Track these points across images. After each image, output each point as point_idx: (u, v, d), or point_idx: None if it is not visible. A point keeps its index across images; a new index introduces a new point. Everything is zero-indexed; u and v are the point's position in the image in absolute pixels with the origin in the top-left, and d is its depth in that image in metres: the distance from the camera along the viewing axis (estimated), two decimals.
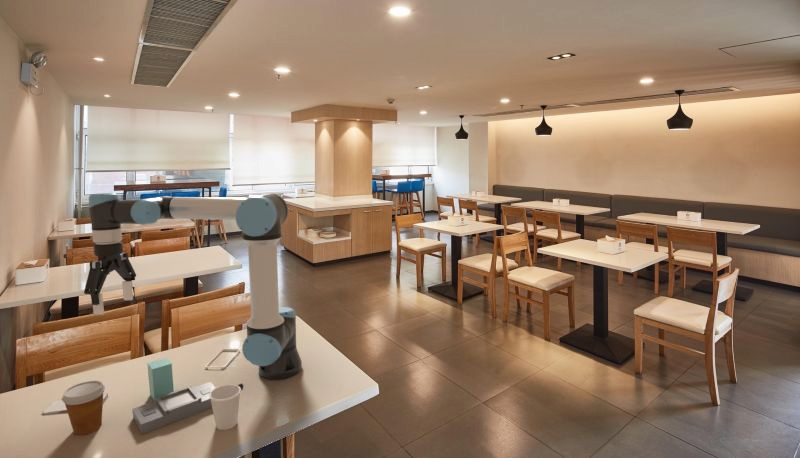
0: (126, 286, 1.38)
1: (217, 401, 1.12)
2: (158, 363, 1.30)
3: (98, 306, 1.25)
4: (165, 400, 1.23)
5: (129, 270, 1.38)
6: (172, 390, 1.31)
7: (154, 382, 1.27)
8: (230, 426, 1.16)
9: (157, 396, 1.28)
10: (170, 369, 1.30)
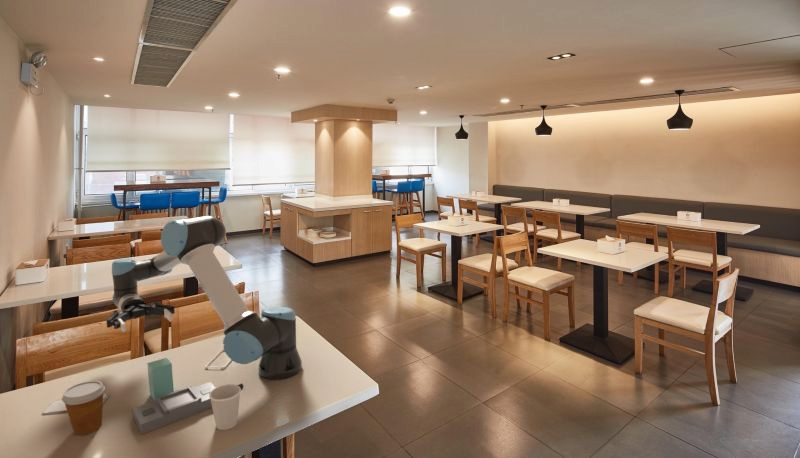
0: (165, 314, 1.43)
1: (217, 401, 1.12)
2: (158, 363, 1.30)
3: (120, 325, 1.32)
4: (165, 400, 1.23)
5: (165, 307, 1.48)
6: (172, 390, 1.31)
7: (154, 382, 1.27)
8: (230, 426, 1.16)
9: (157, 396, 1.28)
10: (170, 369, 1.30)
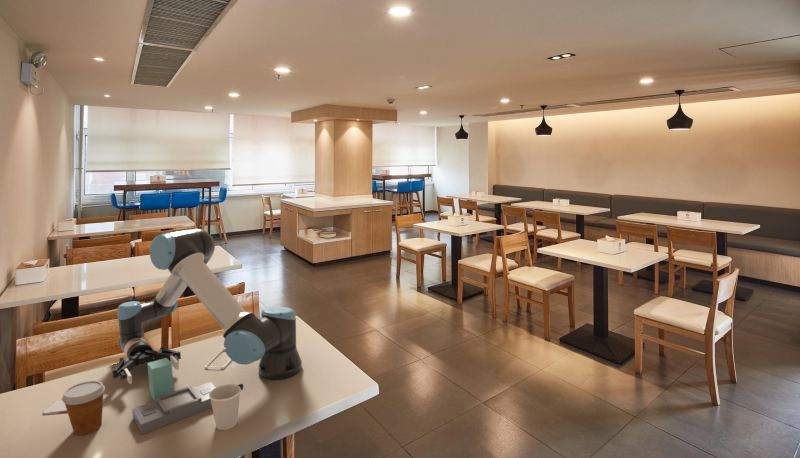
0: (171, 361, 1.42)
1: (217, 401, 1.12)
2: (158, 363, 1.30)
3: (127, 376, 1.31)
4: (165, 400, 1.23)
5: (171, 353, 1.47)
6: (172, 390, 1.31)
7: (154, 382, 1.27)
8: (230, 426, 1.16)
9: (157, 396, 1.28)
10: (170, 369, 1.30)
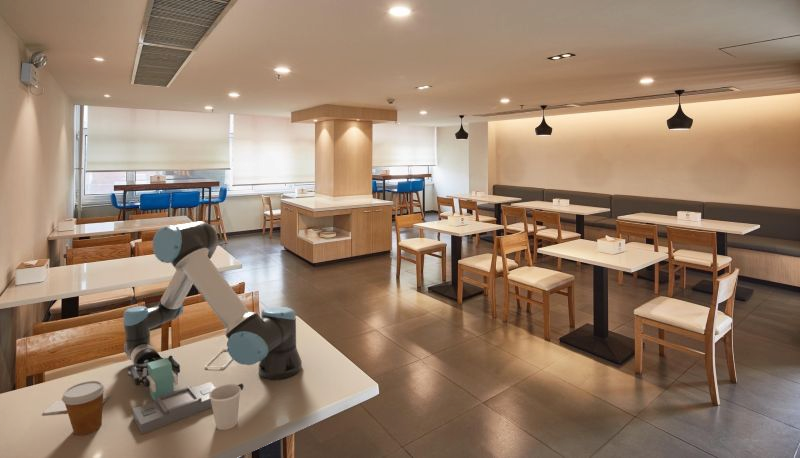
0: None
1: (217, 401, 1.12)
2: (158, 363, 1.30)
3: (150, 383, 1.26)
4: (165, 400, 1.23)
5: (172, 364, 1.38)
6: (172, 390, 1.31)
7: None
8: (230, 426, 1.16)
9: (157, 396, 1.28)
10: (170, 369, 1.30)
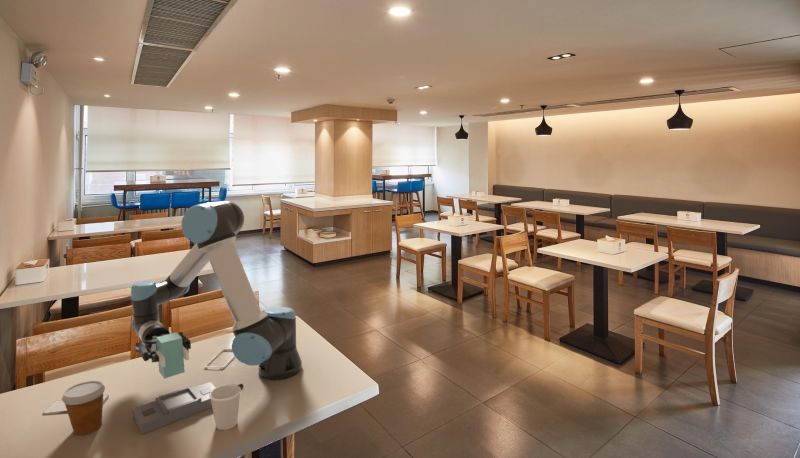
0: None
1: (217, 401, 1.12)
2: (168, 337, 1.22)
3: (159, 358, 1.18)
4: (165, 400, 1.23)
5: (183, 340, 1.30)
6: (182, 366, 1.23)
7: None
8: (230, 426, 1.16)
9: (167, 372, 1.20)
10: (180, 344, 1.22)
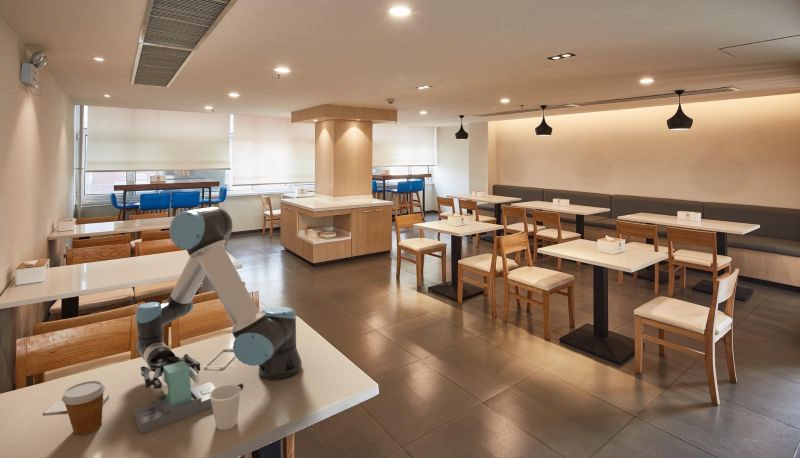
0: (190, 373, 1.25)
1: (217, 401, 1.12)
2: (175, 366, 1.22)
3: (162, 385, 1.17)
4: (165, 400, 1.23)
5: (191, 363, 1.30)
6: (189, 395, 1.23)
7: (171, 387, 1.19)
8: (230, 426, 1.16)
9: (174, 402, 1.20)
10: (187, 373, 1.22)
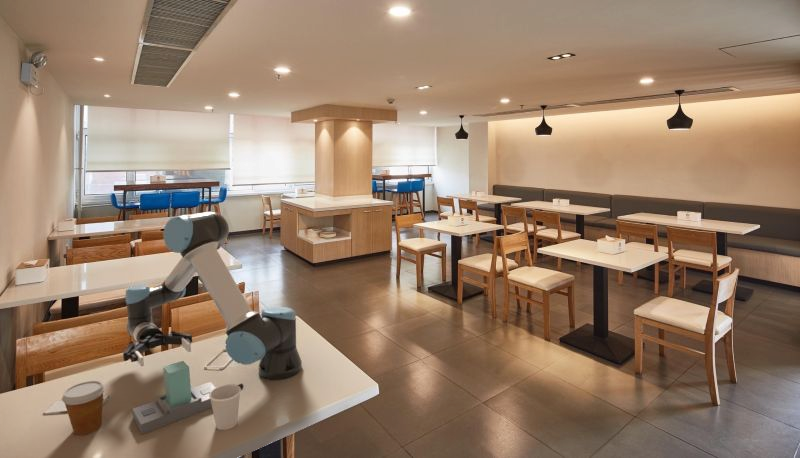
0: (183, 343, 1.38)
1: (217, 401, 1.12)
2: (175, 366, 1.22)
3: (138, 358, 1.26)
4: (165, 400, 1.23)
5: (182, 336, 1.42)
6: (189, 395, 1.23)
7: (171, 387, 1.19)
8: (230, 426, 1.16)
9: (174, 402, 1.20)
10: (187, 373, 1.22)
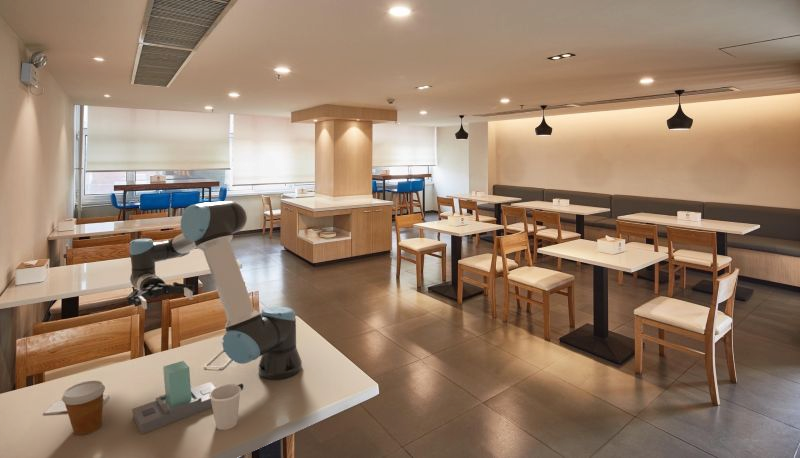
0: (185, 292, 1.41)
1: (217, 401, 1.12)
2: (175, 366, 1.22)
3: (141, 302, 1.29)
4: (165, 400, 1.23)
5: (184, 286, 1.45)
6: (189, 395, 1.23)
7: (171, 387, 1.19)
8: (230, 426, 1.16)
9: (174, 402, 1.20)
10: (187, 373, 1.22)
